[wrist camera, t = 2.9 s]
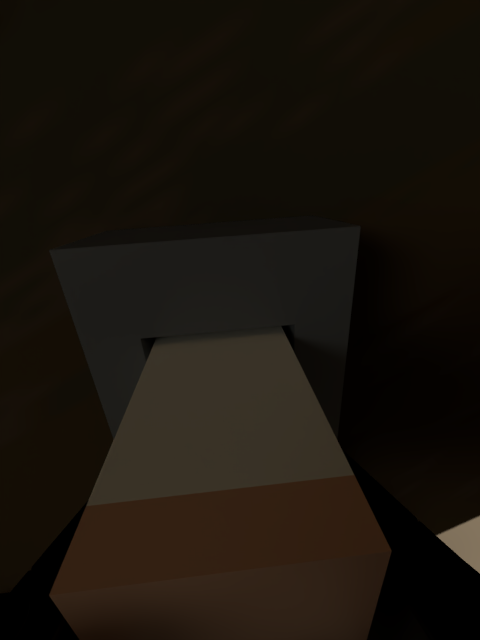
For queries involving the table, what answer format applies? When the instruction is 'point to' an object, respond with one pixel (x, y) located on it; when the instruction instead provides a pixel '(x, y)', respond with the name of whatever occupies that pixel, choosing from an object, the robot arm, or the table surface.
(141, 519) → the brown rectangular block
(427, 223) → the table surface
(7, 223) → the table surface
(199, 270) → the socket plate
